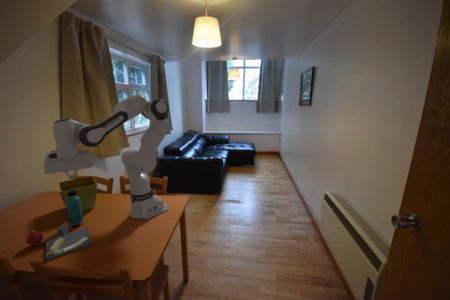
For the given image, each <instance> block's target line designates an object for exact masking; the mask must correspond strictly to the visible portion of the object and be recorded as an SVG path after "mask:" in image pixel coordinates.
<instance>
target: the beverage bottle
mask: <svg viewBox="0 0 450 300" xmlns="http://www.w3.org/2000/svg"><path fill="white" fill-rule="evenodd" d="M75 195H77V192H76V190H72V191H69V192H68V196H69V198H68V199H67V200H66V203H67V208H66V209H67V215H68V217H67V218H68V222H69V224H68V225H70V226H78V225H80V224H82V223H83V221H84V216H83V211H82V209H81V203H80V197H78V196H75Z"/></svg>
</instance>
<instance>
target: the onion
mask: <svg viewBox="0 0 450 300" xmlns="http://www.w3.org/2000/svg"><path fill="white" fill-rule="evenodd" d="M43 238H44V237H43V234H42V232H40V231H37V230H32V231H31V232H30V233H29V234H28V235H27V237H26V238H25V241H26V244H27V245H28V246H32V247H33V246H34V247H36V246H38V245H39V244H40V243H41V242H42V241H43Z"/></svg>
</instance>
